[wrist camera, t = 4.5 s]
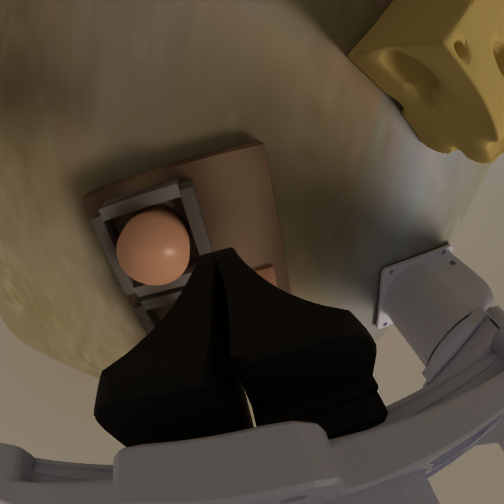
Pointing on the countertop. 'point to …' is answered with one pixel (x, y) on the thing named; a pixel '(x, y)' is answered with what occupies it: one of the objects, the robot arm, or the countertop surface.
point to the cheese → (442, 71)
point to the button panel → (197, 218)
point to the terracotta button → (154, 246)
